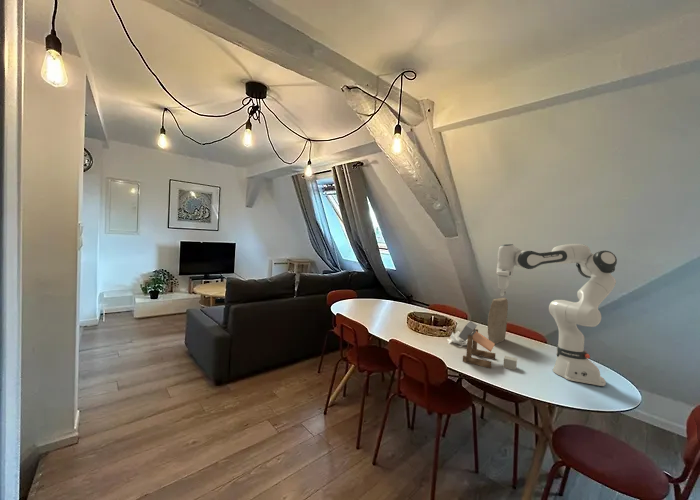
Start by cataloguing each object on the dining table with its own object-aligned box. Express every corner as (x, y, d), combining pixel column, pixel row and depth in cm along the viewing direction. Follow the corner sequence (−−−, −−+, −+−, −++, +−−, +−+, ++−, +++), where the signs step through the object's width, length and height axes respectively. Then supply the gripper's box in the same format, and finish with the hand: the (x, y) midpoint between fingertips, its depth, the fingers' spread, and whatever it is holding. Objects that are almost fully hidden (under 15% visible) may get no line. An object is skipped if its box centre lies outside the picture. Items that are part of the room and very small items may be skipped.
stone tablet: (494, 346, 203) (497, 300, 202) (482, 342, 209) (485, 298, 208) (507, 340, 216) (510, 298, 215) (495, 337, 222) (498, 296, 221)
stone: (517, 358, 169) (505, 355, 172) (516, 361, 165) (503, 358, 168) (516, 367, 169) (504, 364, 172) (515, 370, 165) (503, 367, 168)
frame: (462, 361, 173) (464, 334, 173) (469, 352, 189) (470, 328, 188) (490, 368, 166) (492, 340, 165) (495, 358, 181) (497, 333, 180)
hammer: (458, 336, 177) (465, 325, 174) (463, 331, 188) (470, 320, 186) (487, 356, 168) (495, 345, 166) (490, 349, 180) (498, 339, 178)
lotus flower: (445, 346, 199) (446, 332, 198) (447, 339, 212) (447, 326, 212) (469, 350, 193) (470, 336, 193) (469, 343, 207) (470, 330, 207)
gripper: (500, 270, 191) (499, 292, 192) (496, 272, 174) (494, 296, 174) (512, 271, 188) (510, 293, 188) (509, 273, 171) (507, 298, 171)
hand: (503, 295), depth 181 cm, fingers open, 8 cm apart
